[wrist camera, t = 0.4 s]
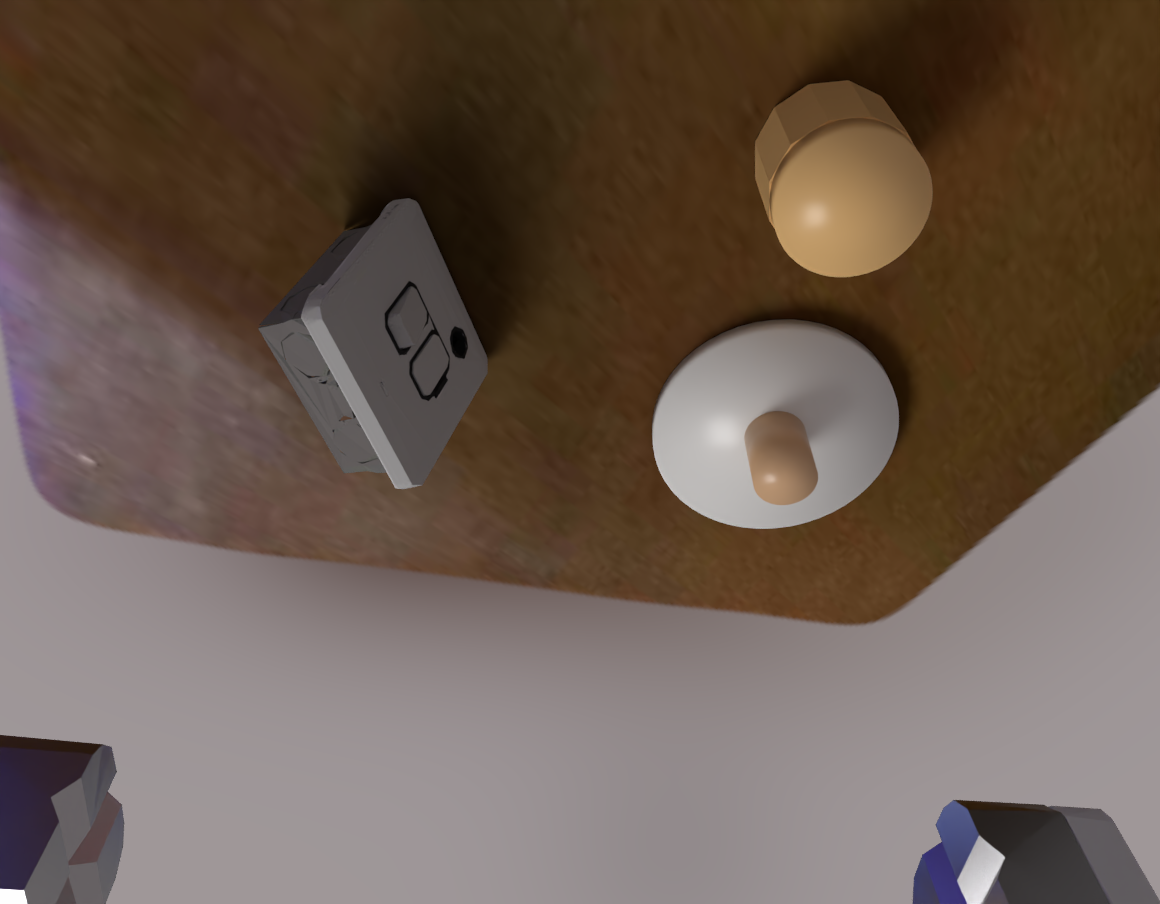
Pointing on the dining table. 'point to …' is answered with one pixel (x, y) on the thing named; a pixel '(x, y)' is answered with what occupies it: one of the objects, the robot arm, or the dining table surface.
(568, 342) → the dining table surface
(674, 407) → the post plate
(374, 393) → the electrical switch
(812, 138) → the cap
